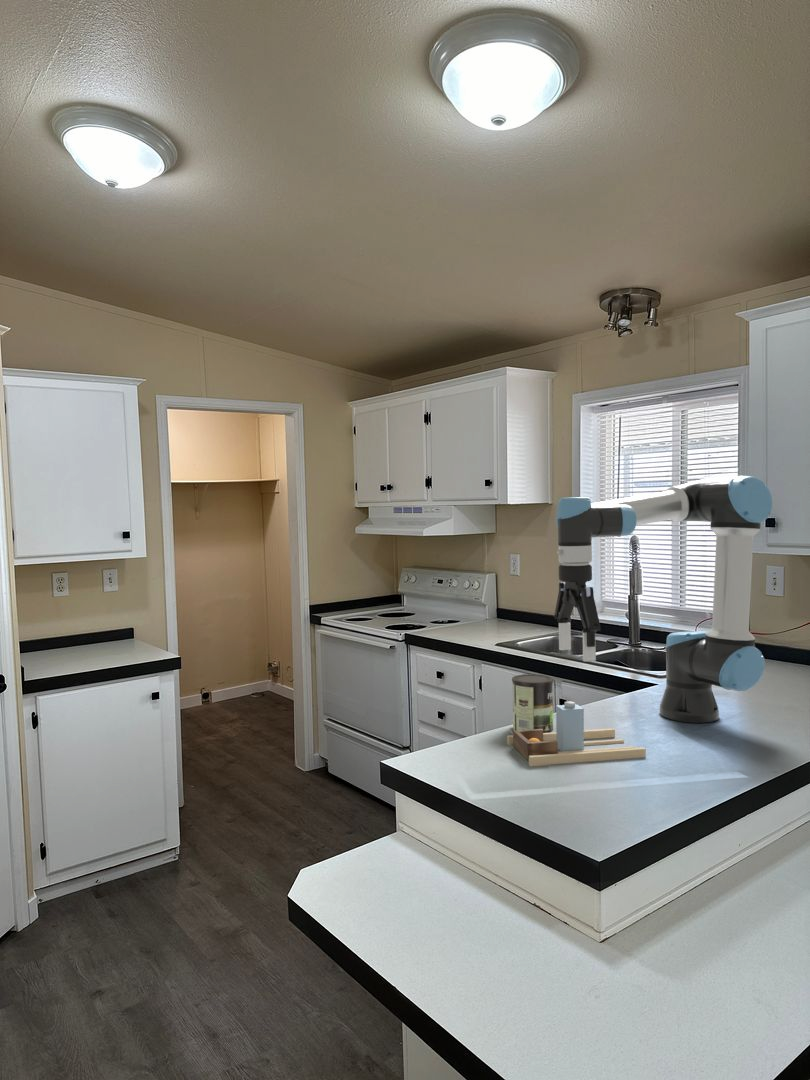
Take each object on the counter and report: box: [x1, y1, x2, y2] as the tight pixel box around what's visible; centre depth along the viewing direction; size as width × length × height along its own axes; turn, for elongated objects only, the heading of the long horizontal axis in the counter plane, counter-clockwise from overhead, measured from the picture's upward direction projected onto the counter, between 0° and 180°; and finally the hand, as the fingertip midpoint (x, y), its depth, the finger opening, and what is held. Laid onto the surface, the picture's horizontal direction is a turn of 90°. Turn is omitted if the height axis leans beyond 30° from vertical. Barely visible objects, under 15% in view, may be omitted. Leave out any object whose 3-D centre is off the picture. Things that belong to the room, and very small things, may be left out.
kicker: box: [555, 701, 585, 752], centre depth 167 cm, size 5×4×11 cm
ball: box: [529, 738, 540, 742], centre depth 166 cm, size 4×4×4 cm
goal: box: [512, 729, 559, 762], centre depth 166 cm, size 7×10×4 cm
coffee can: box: [511, 673, 554, 733], centre depth 185 cm, size 10×10×14 cm
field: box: [506, 727, 647, 767], centre depth 168 cm, size 27×16×3 cm, turn 100°
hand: (576, 655), depth 169 cm, fingers open, 13 cm apart
